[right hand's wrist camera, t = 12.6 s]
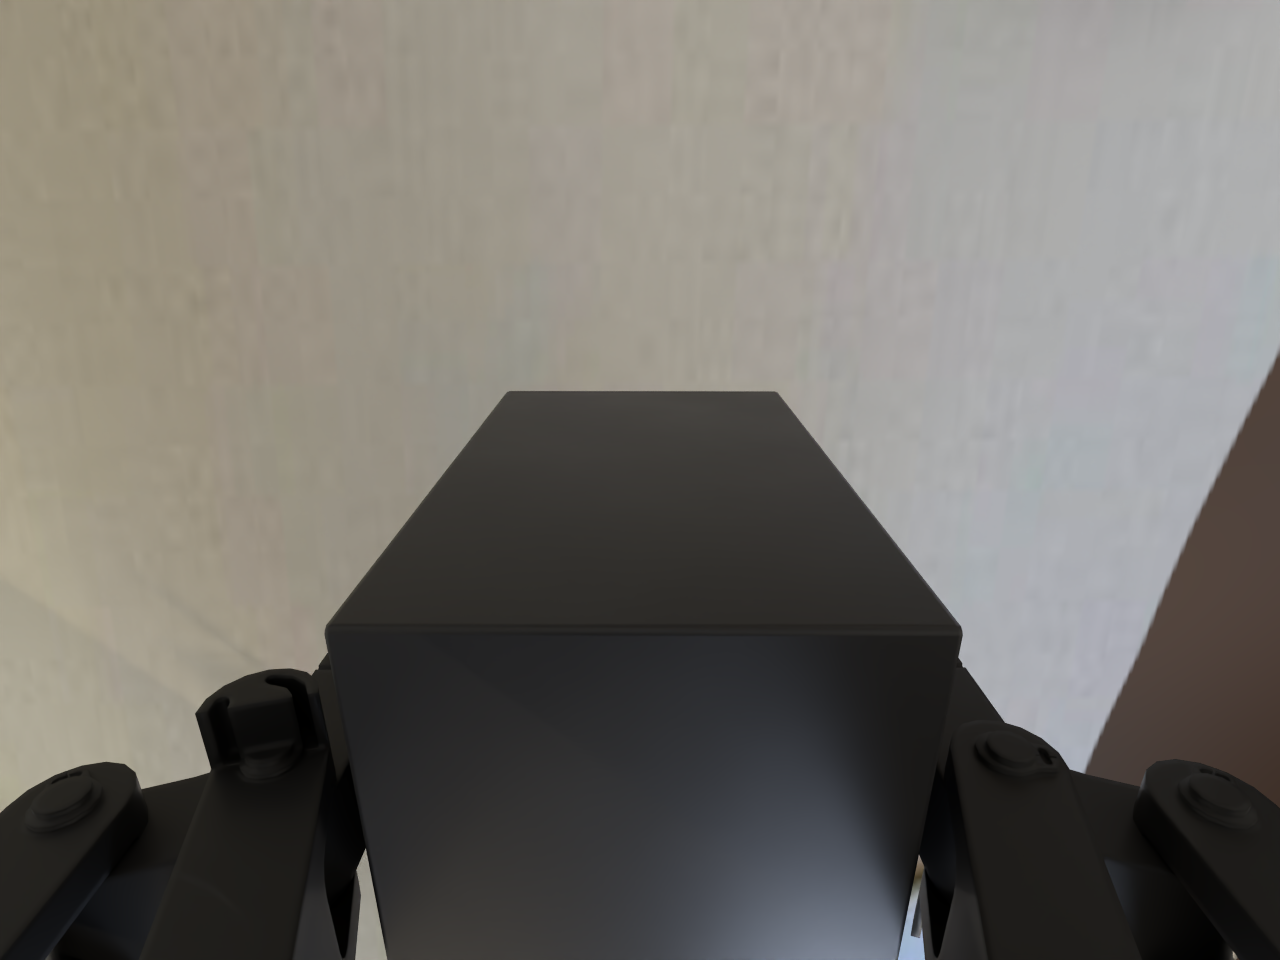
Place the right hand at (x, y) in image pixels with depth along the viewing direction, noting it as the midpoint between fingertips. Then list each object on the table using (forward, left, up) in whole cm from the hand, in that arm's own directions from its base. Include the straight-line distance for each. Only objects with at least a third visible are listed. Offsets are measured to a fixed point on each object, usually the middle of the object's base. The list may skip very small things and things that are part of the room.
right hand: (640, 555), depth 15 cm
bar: (+8, +2, -1) cm, 8 cm away
